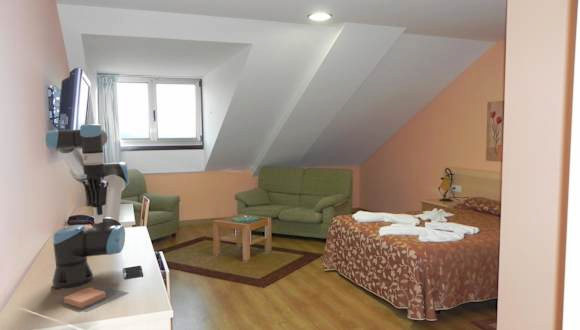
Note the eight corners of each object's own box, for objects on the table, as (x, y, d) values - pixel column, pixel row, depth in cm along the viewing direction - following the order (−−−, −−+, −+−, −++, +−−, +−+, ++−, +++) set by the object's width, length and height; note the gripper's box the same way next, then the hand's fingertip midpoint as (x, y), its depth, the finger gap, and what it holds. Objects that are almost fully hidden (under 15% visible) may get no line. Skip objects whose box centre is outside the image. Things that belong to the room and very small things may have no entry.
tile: (89, 293, 164) (64, 303, 155) (88, 287, 164) (63, 297, 155) (106, 298, 159) (81, 308, 150) (105, 291, 159) (80, 302, 150)
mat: (55, 303, 157) (55, 302, 157) (99, 286, 172) (98, 284, 172) (86, 313, 148) (86, 312, 148) (129, 294, 163) (129, 292, 163)
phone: (123, 279, 177) (122, 268, 191) (123, 282, 177) (123, 270, 191) (143, 276, 180) (141, 265, 194) (143, 278, 180) (141, 267, 194)
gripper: (74, 164, 166) (79, 223, 169) (95, 165, 160) (100, 226, 162) (91, 162, 173) (96, 219, 175) (112, 163, 166) (117, 222, 169)
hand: (98, 222), depth 169 cm, fingers closed
